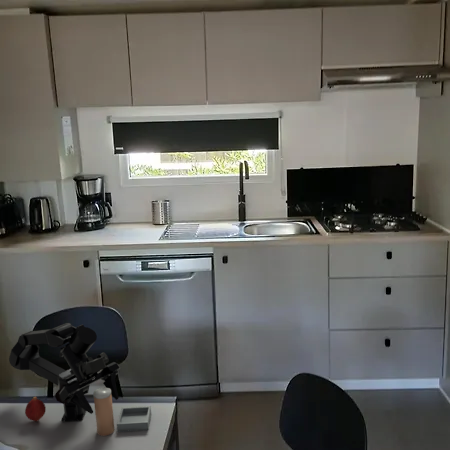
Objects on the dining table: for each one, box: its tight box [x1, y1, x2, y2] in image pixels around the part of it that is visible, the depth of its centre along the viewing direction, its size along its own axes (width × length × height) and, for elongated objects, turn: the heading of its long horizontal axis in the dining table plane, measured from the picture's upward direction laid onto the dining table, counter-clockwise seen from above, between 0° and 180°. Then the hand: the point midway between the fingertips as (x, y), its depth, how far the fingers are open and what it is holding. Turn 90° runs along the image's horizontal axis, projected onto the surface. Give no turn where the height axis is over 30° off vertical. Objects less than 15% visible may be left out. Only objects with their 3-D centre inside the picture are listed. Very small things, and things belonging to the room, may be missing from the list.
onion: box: [24, 396, 47, 422], centre depth 155 cm, size 6×6×8 cm
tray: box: [116, 405, 152, 433], centre depth 153 cm, size 9×9×2 cm
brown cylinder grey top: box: [93, 387, 116, 437], centre depth 148 cm, size 5×5×12 cm
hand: (105, 405), depth 148 cm, fingers open, 9 cm apart
